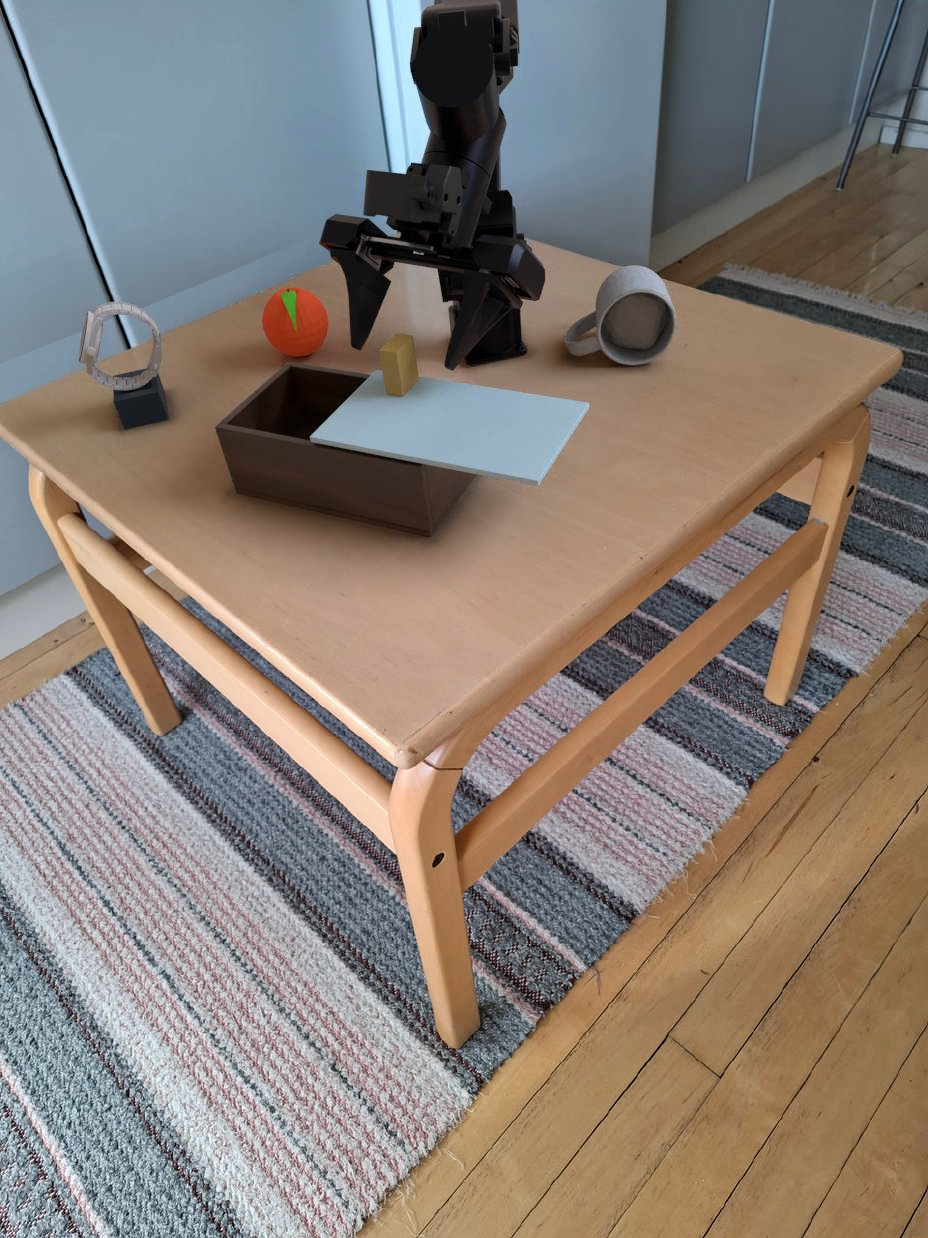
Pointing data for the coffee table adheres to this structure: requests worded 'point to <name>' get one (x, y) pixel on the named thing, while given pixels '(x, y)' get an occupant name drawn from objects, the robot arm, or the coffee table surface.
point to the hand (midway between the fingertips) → (400, 358)
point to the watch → (132, 391)
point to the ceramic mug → (627, 318)
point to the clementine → (295, 322)
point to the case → (328, 457)
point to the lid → (451, 421)
